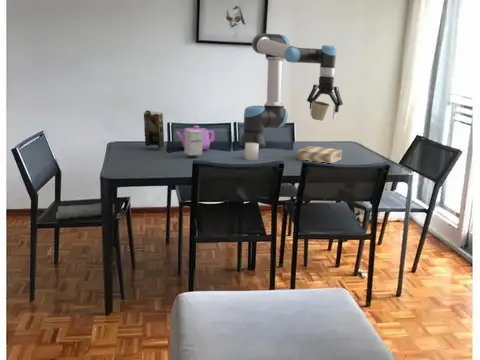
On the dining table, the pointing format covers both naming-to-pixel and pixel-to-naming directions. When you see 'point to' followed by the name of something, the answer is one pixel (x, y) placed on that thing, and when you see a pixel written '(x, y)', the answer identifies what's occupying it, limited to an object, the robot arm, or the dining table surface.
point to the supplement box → (193, 142)
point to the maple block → (319, 154)
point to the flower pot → (319, 110)
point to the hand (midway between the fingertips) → (323, 117)
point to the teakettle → (205, 136)
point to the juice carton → (153, 128)
